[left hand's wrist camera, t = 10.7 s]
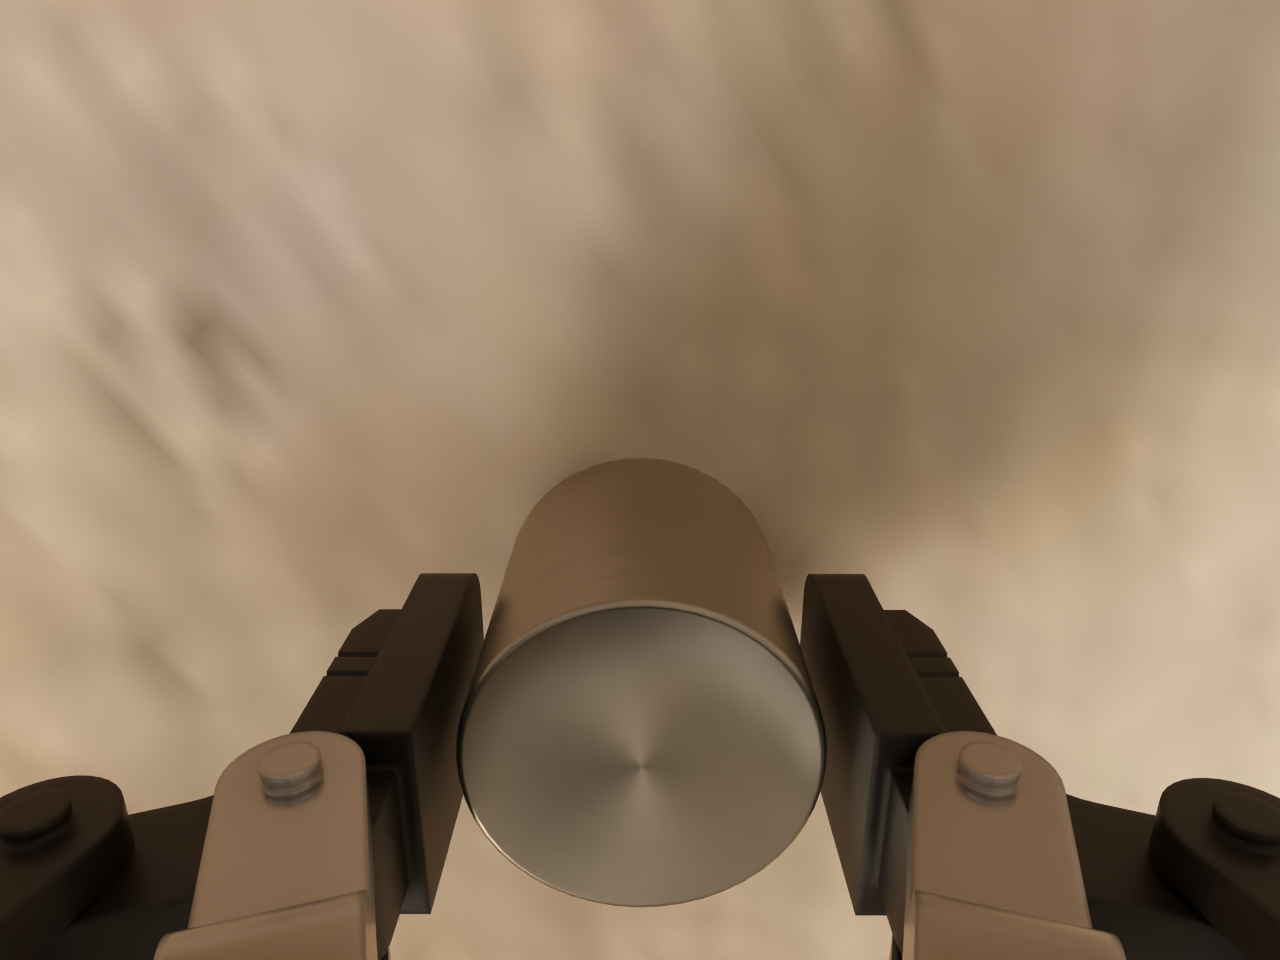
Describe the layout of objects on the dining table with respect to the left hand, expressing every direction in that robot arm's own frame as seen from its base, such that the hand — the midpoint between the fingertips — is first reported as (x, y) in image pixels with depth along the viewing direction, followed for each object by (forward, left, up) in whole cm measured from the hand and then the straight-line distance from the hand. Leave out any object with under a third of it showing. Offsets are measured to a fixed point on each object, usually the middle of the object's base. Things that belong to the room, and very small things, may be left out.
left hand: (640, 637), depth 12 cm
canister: (0, 0, -2) cm, 2 cm away
